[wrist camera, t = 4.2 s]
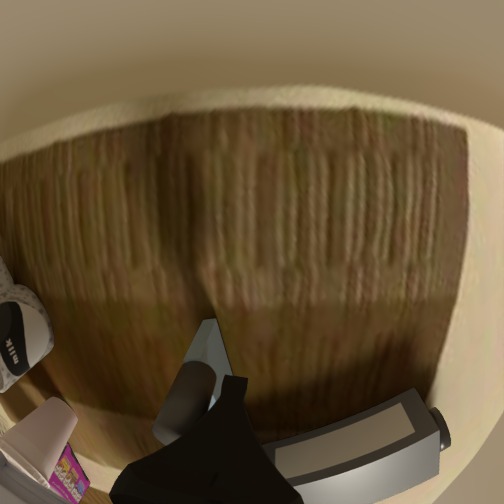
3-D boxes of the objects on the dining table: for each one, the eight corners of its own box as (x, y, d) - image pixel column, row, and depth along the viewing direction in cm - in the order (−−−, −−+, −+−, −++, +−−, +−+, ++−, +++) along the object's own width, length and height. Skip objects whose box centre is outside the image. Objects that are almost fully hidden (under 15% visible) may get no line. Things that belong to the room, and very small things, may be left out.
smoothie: (31, 389, 21) (-40, 464, 7) (58, 381, 20) (-26, 475, 6) (67, 433, 22) (11, 513, 8) (100, 431, 21) (38, 531, 7)
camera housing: (284, 486, 21) (284, 525, 16) (247, 447, 19) (242, 495, 14) (432, 431, 18) (451, 467, 13) (427, 378, 17) (454, 420, 12)
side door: (263, 447, 19) (258, 533, 11) (241, 449, 19) (230, 533, 11) (224, 316, 16) (188, 419, 8) (195, 320, 16) (143, 417, 8)
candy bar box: (39, 425, 22) (-23, 504, 6) (69, 442, 22) (9, 532, 6) (64, 470, 25) (22, 539, 9) (92, 483, 25) (52, 559, 9)
